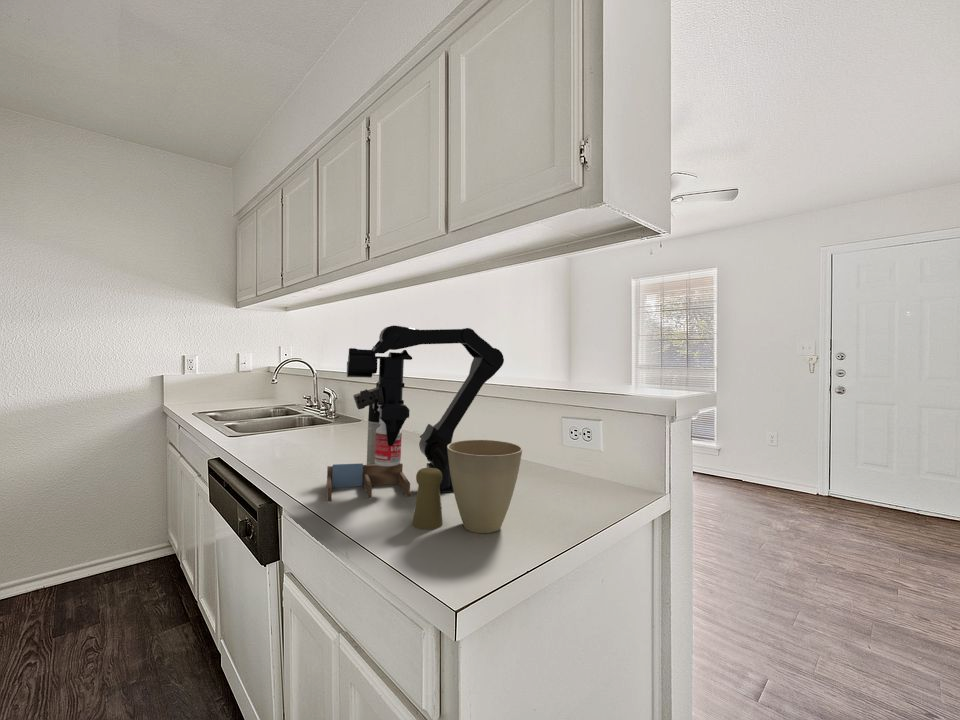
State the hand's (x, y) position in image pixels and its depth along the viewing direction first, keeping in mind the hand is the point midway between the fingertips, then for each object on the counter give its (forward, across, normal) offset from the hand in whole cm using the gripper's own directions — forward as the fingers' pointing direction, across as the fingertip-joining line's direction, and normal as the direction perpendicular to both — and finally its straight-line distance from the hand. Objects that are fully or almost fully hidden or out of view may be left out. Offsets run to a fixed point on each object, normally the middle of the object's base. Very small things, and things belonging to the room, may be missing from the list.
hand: (388, 442), depth 111 cm
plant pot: (+12, +26, +15) cm, 32 cm away
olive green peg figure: (+12, +22, +5) cm, 26 cm away
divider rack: (+12, -2, -4) cm, 13 cm away
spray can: (+12, -16, 0) cm, 20 cm away
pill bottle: (+5, 0, 0) cm, 5 cm away
